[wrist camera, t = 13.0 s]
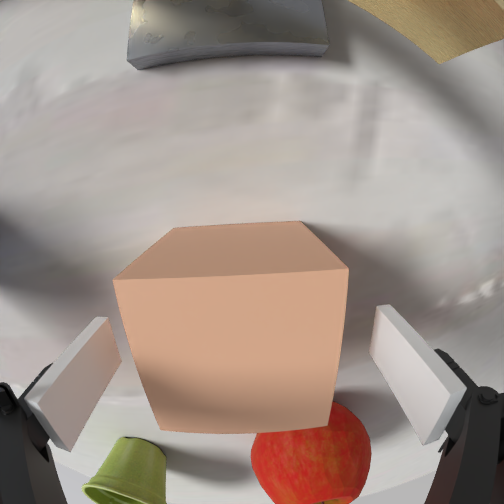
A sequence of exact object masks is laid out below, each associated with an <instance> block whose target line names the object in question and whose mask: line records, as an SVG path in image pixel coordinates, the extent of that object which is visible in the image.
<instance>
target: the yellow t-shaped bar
mask: <svg viewBox="0 0 504 504" xmlns="http://www.w3.org/2000/svg"><path fill="white" fill-rule="evenodd" d="M348 1H350V2H352V3H353V4H355V5H357V6H359V7H361V8H362V9H364V10H366V11H367V12H369V13H371V14H372V15H374V16H375V17H377V18H379V19H380V20H382V21H383V22H385V23H386V24H388V25H389V26H391V27H392V28H394V29H395V30H397V31H398V32H399V33H401V34H402V35H404V36H405V37H406V38H408V39H409V40H410V41H412V42H413V43H414V44H415V45H417V46H418V47H419V48H421V49H422V50H423V51H424V52H425V53H427V54H428V55H429V56H430V57H431V58H433V59H434V60H435V61H436V62H437V63H438V64H441V63H443V62H446V61H448V60H450V59H453V58H455V57H457V56H460V55H462V54H464V53H467V52H469V51H472V50H474V49H477V48H480V47H482V46H485V45H488V44H490V43H493V42H496V41H499V40H502V39H504V0H348Z"/></svg>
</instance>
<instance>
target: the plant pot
mask: <svg viewBox="0 0 504 504" xmlns="http://www.w3.org/2000/svg"><path fill="white" fill-rule="evenodd" d="M82 491H83V492H84V494H85V495H86V496H87V497H88V498H90V499H91V500H92V501H94V502H95V503H97V504H167V503H166V456H164V454H163V453H162V451H161V450H160V448H158V447H157V446H155V445H153V444H152V443H149V442H147V441H145V440H142V439H139V438H132V439H128V438H125V437H122V438H120V439H118V440H117V442H116V444H115V445H114V447H113V448H112V450H111V452H110V453H109V455H108V457H107V458H106V460H105V461H104V463H103V464H102V466H101V468H100V469H99V471H98V472H97V474H96V475H95V476H94V477H92V478H91V480H90V481H89V482H88V483H86V484H84V485H83V486H82Z"/></svg>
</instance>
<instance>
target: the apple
mask: <svg viewBox="0 0 504 504" xmlns="http://www.w3.org/2000/svg"><path fill="white" fill-rule="evenodd" d="M251 462H252V468H253V470H254V472H255V474H256V476H257V478H258V481H259V483H260V485H261V487H262V488H263V489H264V490H265V492H266V493H267V494H268V496H269V497H270V498H271V499H272V501H273V502H274V503H275V504H349V503H351V502H352V501H353V500H355V499H356V498H357V497H359V495H360V493H361V491H362V489H363V487H364V485H365V483H366V479H367V476H368V472H369V469H370V462H371V445H370V439H369V436H368V434H367V431H366V429H365V427H364V425H363V424H362V423H361V421H360V420H359V419H358V418H357V417H356V416H355V415H354V414H353V413H352V412H351V411H350V410H348V409H347V408H346V407H344V406H342V405H340V404H338V403H336V402H332V406H331V411H330V416H329V421H328V425H327V426H322V427H315V428H308V429H300V430H290V431H280V432H266V433H257V435H256V438H255V441H254V444H253V446H252V449H251Z"/></svg>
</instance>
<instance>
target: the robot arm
mask: <svg viewBox="0 0 504 504" xmlns="http://www.w3.org/2000/svg"><path fill="white" fill-rule="evenodd" d="M369 354H370V355H371V357H372V359H373V360H374V362H375V363H376V365H377V367H378V368H379V370H380V372H381V373H382V375H383V377H384V378H385V380H386V382H387V383H388V385H389V387H390V388H391V390H392V392H393V394H394V395H395V397H396V399H397V400H398V402H399V404H400V406H401V407H402V409H403V411H404V413H405V414H406V416H407V418H408V420H409V421H410V423H411V425H412V427H413V429H414V430H415V432H416V434H417V436H418V438H419V439H420V441H421V443H422V445H423V446H424V445H426V444H429V443H431V442H434V441H436V440H439V438H440V437H441V435H442V433H443V432H444V430H446V432H447V433H448V437H447V438H446V440H445V442H444V443H443V445H442V446H441V448H440V449H439V451H438V452H441V451H442V449H443V452H442V455H441V459H440V462H439V465H438V468H437V471H436V474H435V477H434V480H433V483H432V486H431V488H430V491H429V493H428V496H427V499H426V501H425V503H424V504H504V393H500V394H498V392H497V391H496V390H494V389H493V388H490V387H487V386H481V387H478V386H477V385H476V384H475V383H474V382H473V381H472V380H471V378H470V377H469V376H468V375H467V374H466V373H465V372H464V371H463V370H462V369H461V368H459V365H458V364H457V363H456V362H454V360H453V359H452V358H451V357H450V356H449V355H448V354H447V353H445V352H444V351H442V350H440V349H435V350H433V349H432V348H431V347H430V346H429V345H428V343H427V342H426V341H425V340H424V339H423V338H422V337H421V336H420V335H419V334H418V333H417V332H416V331H415V330H414V329H413V328H412V326H411V325H410V324H409V323H408V322H407V321H406V320H405V319H404V318H403V317H402V316H401V315H400V314H399V313H398V312H397V311H396V310H395V309H394V308H393V307H392V306H391V305H390V304H388V305H380V306H376V312H375V319H374V325H373V331H372V337H371V343H370V348H369ZM121 362H122V361H121V358H120V355H119V352H118V348H117V345H116V342H115V339H114V336H113V332H112V329H111V325H110V322H109V318H108V317H95V318H94V319H93V320H92V321H91V323H90V324H89V325H88V326H87V327H86V328H85V329H84V330H83V331H82V332H81V333H80V334H79V335H78V336H77V338H76V339H75V340H74V341H73V342H72V343H71V344H70V345H69V346H68V347H67V348H66V350H65V351H64V352H63V353H62V354H61V355H60V356H59V357H58V359H57V360H56V361H55V362H54V363H52V364H50V365H48V366H47V367H45V368H44V369H43V370H42V371H41V373H40V374H39V375H38V376H37V377H36V378H35V379H34V382H32V383H31V384H30V385H29V387H28V388H27V389H26V390H25V391H24V393H23V394H22V395H21V396H20V397H19V399H17V398H16V396H15V394H14V393H13V391H12V389H11V387H10V386H9V385H8V384H7V383H4V382H1V383H0V504H67V501H66V498H65V495H64V493H63V490H62V487H61V484H60V481H59V478H58V474H57V471H56V468H55V464H54V460H53V457H52V453H51V449H50V447H49V445H48V444H47V442H48V440H49V438H50V439H51V440H52V442H53V443H54V444H55V445H56V447H58V448H61V449H63V450H66V451H69V452H71V450H72V448H73V446H74V444H75V443H76V441H77V439H78V437H79V435H80V433H81V431H82V430H83V428H84V426H85V424H86V422H87V420H88V419H89V417H90V415H91V413H92V411H93V410H94V408H95V406H96V404H97V403H98V401H99V399H100V397H101V396H102V394H103V392H104V391H105V389H106V387H107V385H108V384H109V382H110V380H111V379H112V377H113V375H114V374H115V372H116V370H117V369H118V367H119V365H120V364H121Z"/></svg>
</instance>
